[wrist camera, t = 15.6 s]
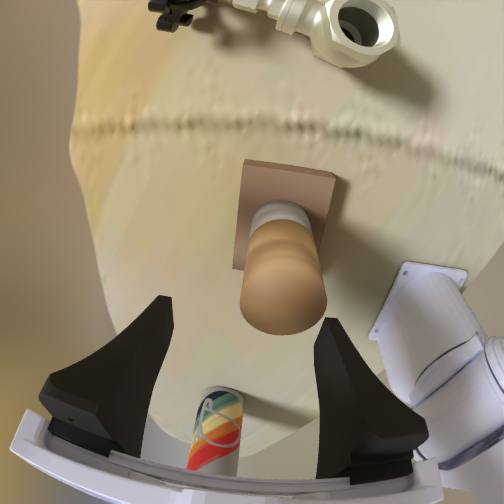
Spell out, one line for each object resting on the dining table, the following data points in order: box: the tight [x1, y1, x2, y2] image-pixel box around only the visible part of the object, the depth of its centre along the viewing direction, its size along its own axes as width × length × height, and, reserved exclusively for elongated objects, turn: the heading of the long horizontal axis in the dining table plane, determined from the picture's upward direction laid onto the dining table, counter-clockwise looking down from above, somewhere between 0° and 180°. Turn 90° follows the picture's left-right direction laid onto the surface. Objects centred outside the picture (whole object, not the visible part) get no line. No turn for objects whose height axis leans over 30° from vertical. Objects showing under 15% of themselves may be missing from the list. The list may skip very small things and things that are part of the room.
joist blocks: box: [232, 159, 336, 270], centre depth 14 cm, size 33×6×2 cm, turn 174°
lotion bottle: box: [183, 387, 244, 493], centre depth 27 cm, size 6×6×20 cm
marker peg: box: [240, 200, 327, 335], centre depth 17 cm, size 4×4×8 cm
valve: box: [148, 0, 400, 68], centre depth 11 cm, size 7×7×12 cm
